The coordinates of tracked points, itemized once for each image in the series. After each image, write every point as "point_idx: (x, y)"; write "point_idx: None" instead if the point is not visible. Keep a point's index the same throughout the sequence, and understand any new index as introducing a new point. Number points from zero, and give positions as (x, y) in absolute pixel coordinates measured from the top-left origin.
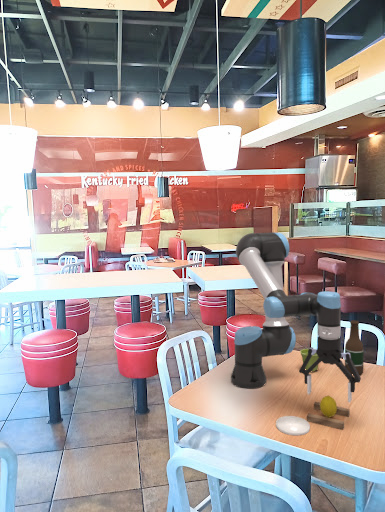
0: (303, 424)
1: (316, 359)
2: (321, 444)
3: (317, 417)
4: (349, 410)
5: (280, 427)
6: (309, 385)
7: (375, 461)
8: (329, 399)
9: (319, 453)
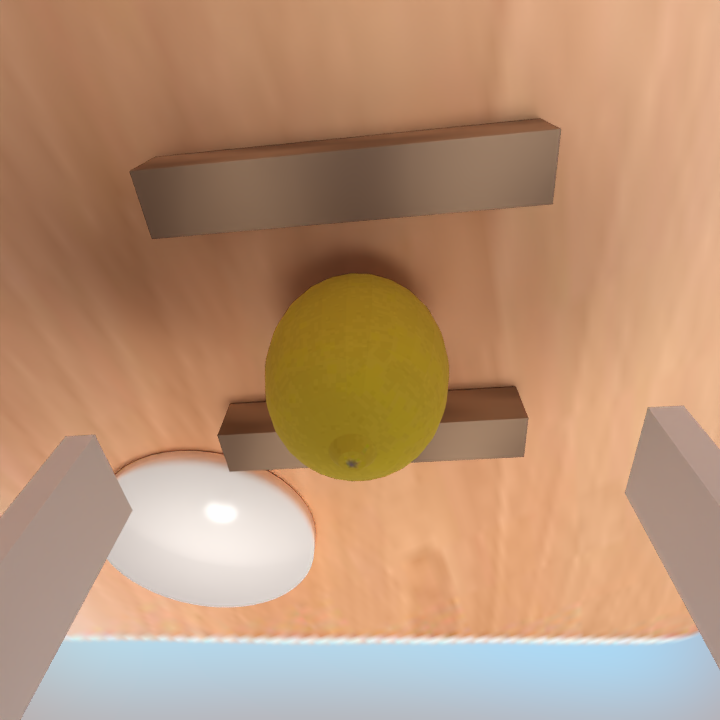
0: (261, 524)
1: None
2: (422, 589)
3: None
4: (555, 131)
5: (175, 596)
6: (68, 629)
7: None
8: (379, 473)
9: (434, 637)
